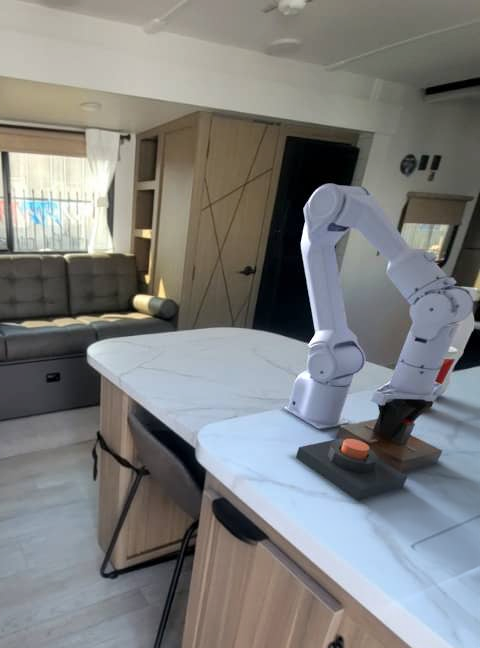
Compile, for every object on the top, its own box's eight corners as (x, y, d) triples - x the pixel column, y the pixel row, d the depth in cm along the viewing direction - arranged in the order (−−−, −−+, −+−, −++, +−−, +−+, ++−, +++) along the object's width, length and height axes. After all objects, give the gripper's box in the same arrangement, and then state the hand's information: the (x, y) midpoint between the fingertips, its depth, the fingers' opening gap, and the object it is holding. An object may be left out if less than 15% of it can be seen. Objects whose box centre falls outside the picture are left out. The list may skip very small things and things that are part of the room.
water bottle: (432, 402, 93) (481, 292, 82) (399, 390, 99) (441, 285, 88) (448, 396, 96) (497, 290, 85) (416, 385, 102) (458, 284, 91)
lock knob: (372, 431, 74) (380, 411, 73) (379, 430, 75) (387, 409, 73) (398, 445, 70) (407, 424, 68) (406, 443, 71) (415, 422, 69)
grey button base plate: (295, 457, 70) (301, 438, 69) (337, 448, 74) (344, 429, 72) (357, 501, 60) (365, 479, 59) (402, 487, 64) (412, 466, 62)
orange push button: (335, 449, 66) (338, 440, 66) (351, 446, 68) (354, 437, 67) (355, 461, 63) (358, 452, 63) (371, 457, 65) (375, 448, 64)
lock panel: (336, 437, 77) (340, 425, 76) (373, 429, 80) (377, 417, 79) (397, 473, 67) (403, 460, 66) (437, 462, 70) (443, 449, 69)
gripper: (414, 376, 61) (383, 452, 67) (474, 367, 66) (440, 439, 71) (370, 360, 67) (345, 432, 73) (429, 353, 71) (401, 420, 77)
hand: (390, 434), depth 72 cm, fingers closed on lock knob, 2 cm apart
